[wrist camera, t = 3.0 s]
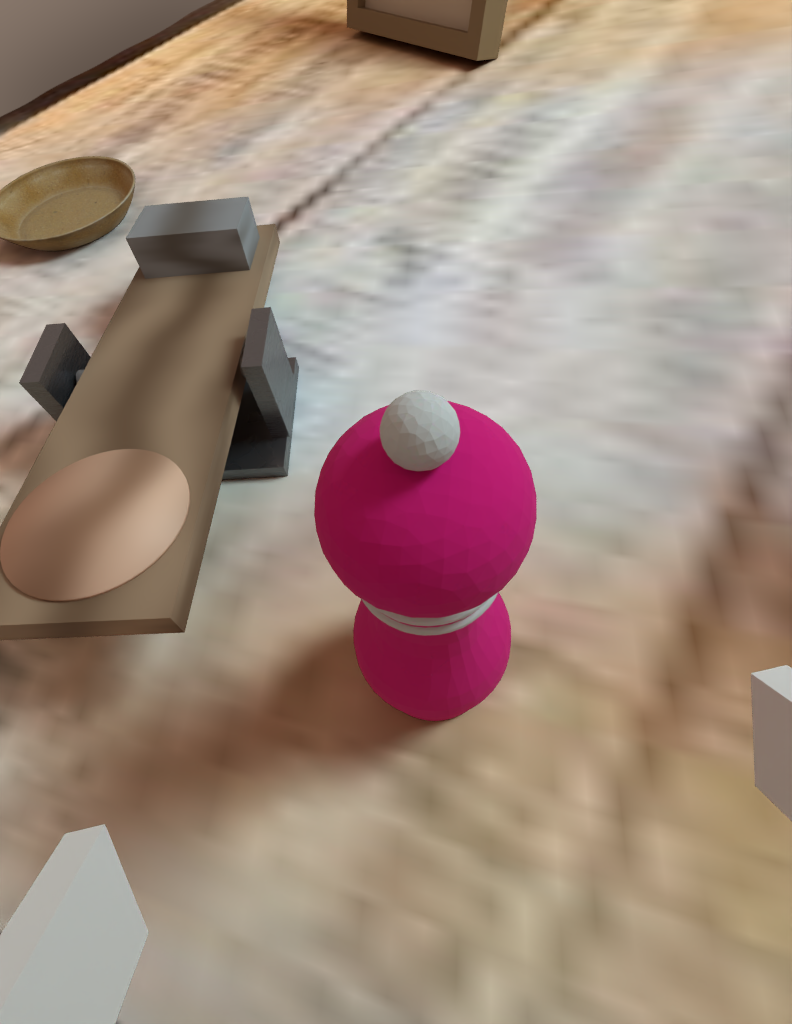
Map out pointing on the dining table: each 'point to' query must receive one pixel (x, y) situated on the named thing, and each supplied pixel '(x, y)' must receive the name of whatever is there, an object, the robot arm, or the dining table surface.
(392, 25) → the photo frame
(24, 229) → the plant saucer
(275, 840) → the dining table surface
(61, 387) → the pivot stand
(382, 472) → the pepper mill
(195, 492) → the balance plank
